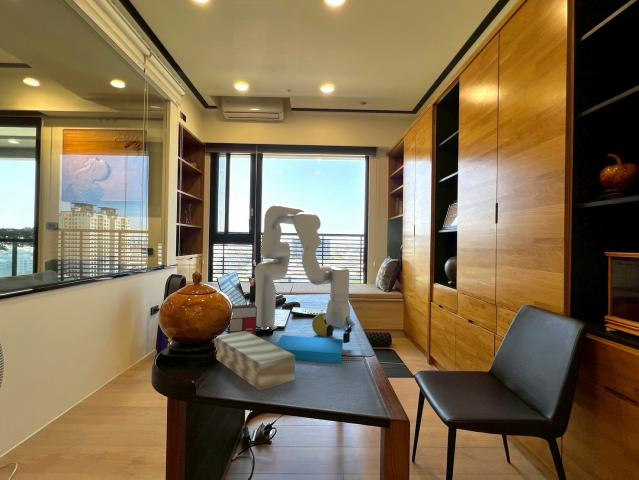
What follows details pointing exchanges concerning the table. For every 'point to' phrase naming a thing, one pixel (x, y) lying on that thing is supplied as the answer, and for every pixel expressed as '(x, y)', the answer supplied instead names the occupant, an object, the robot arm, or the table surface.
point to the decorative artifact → (320, 325)
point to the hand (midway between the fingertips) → (337, 339)
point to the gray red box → (243, 319)
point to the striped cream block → (255, 359)
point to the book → (312, 348)
